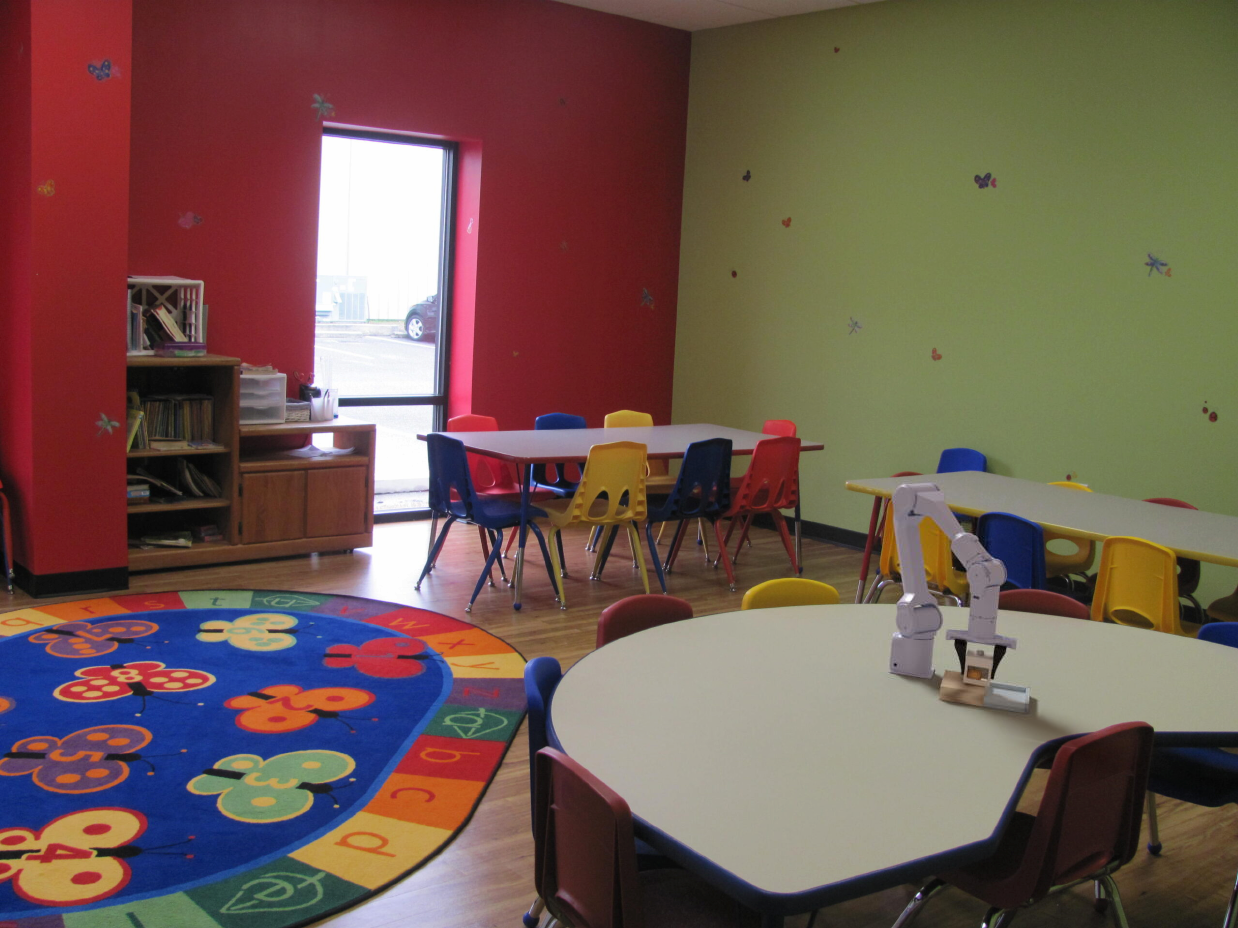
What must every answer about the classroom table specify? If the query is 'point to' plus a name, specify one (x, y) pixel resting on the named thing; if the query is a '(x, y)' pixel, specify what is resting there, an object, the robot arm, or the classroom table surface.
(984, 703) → the tray
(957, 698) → the board
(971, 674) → the ball
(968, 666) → the small drawer with knob
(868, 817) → the classroom table surface
